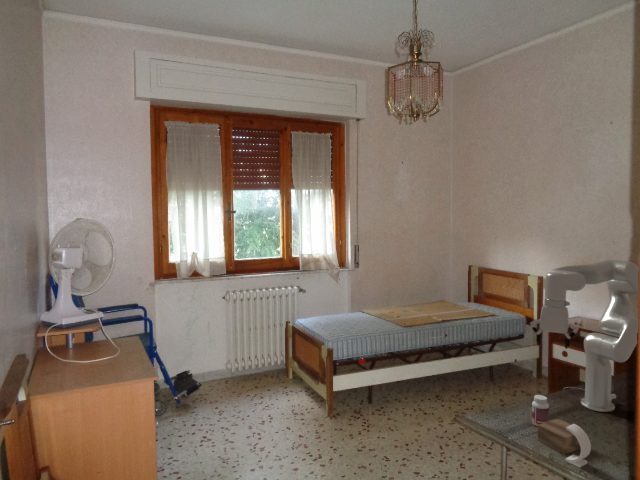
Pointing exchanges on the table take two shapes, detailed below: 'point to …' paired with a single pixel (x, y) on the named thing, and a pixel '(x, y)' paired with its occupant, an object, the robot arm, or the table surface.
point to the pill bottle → (540, 410)
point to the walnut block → (558, 436)
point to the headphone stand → (584, 446)
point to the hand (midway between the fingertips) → (552, 345)
